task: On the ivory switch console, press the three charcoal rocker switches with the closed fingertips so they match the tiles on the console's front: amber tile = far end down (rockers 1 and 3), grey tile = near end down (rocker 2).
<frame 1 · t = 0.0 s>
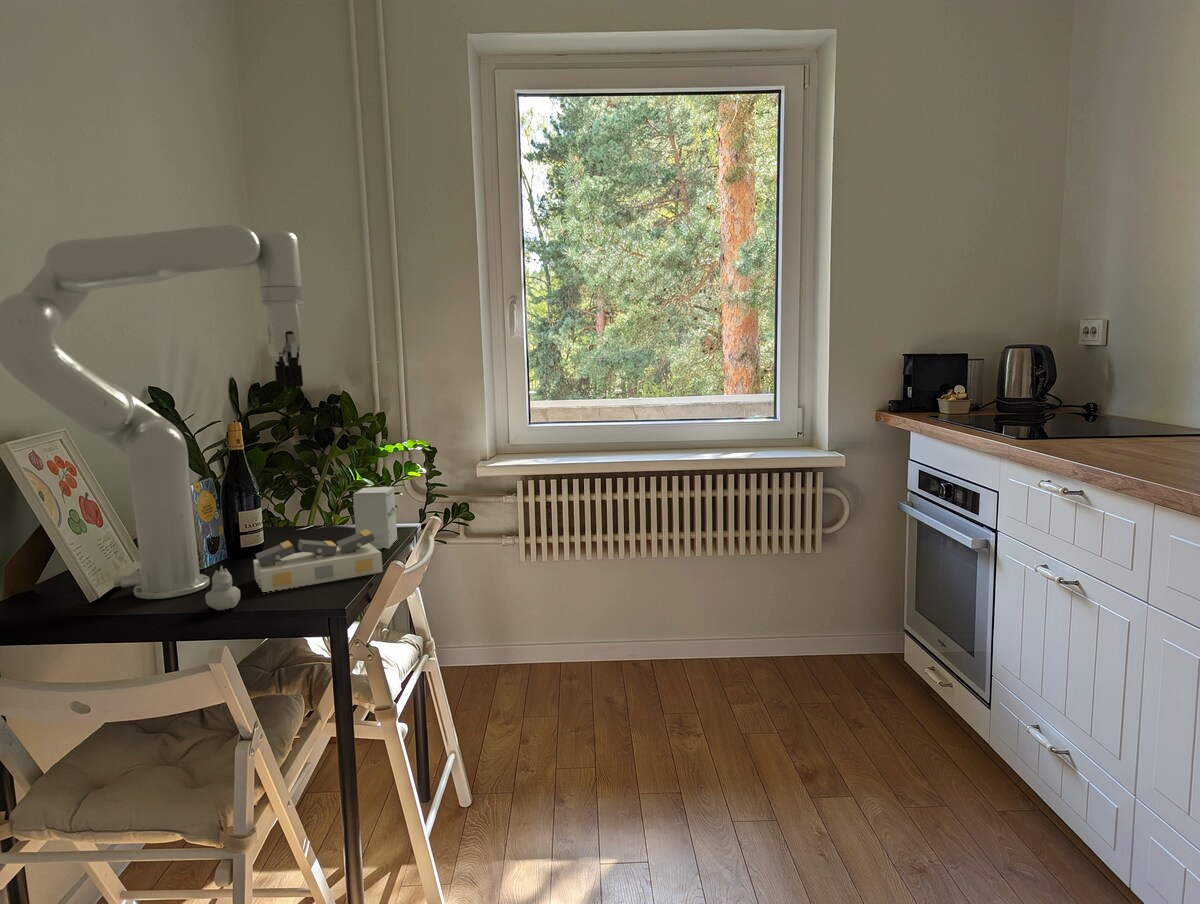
hand: (289, 386, 159), 37 cm above the table, tool pointing down, fingers open, 9 cm apart
rocker 3: (355, 540, 160), point 6 cm above the table, hinge at -14.0°
rocker 1: (275, 553, 153), point 6 cm above the table, hinge at -14.0°
switch console: (319, 576, 157), on the table
rocker 2: (317, 546, 157), point 6 cm above the table, hinge at 14.0°
supplement box: (377, 546, 180), on the table
rubber duck: (224, 609, 140), on the table
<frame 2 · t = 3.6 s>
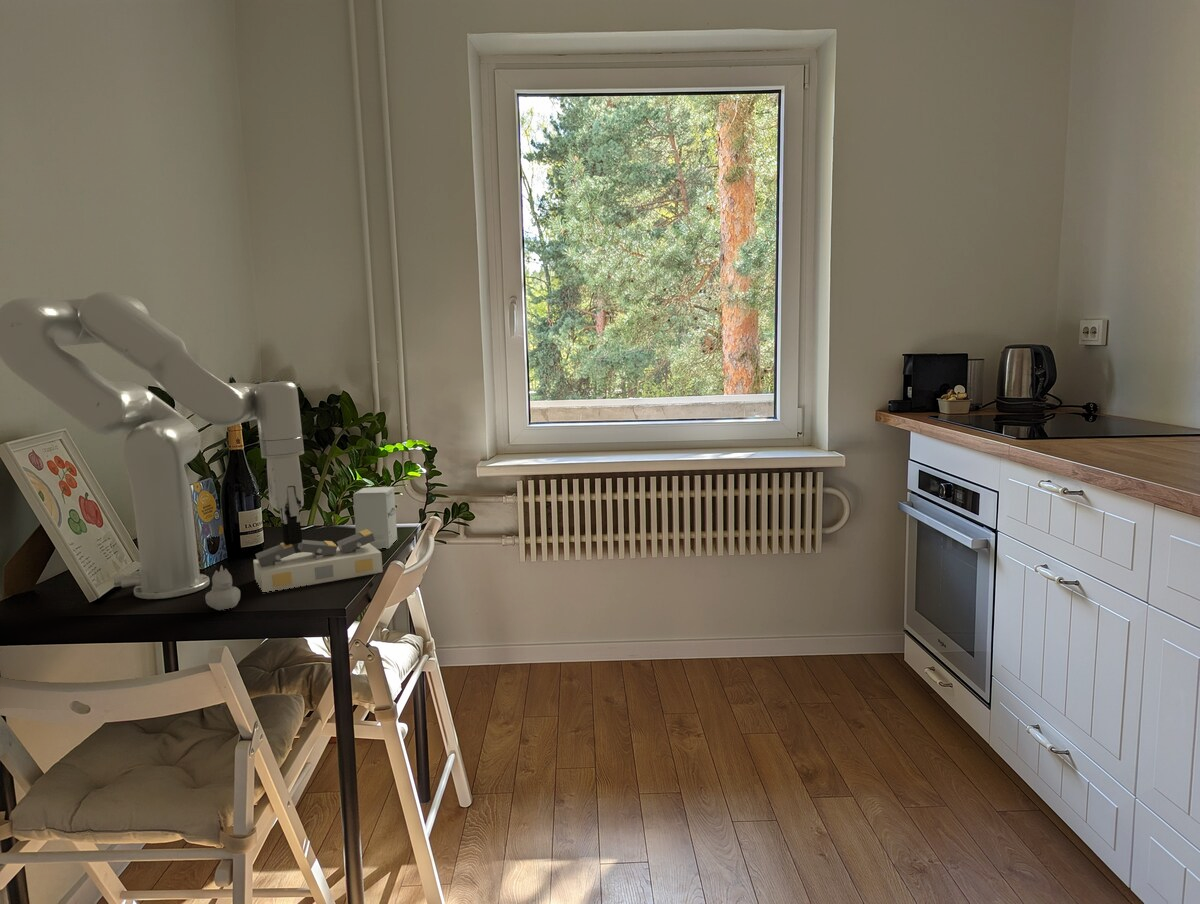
hand: (292, 542, 154), 7 cm above the table, tool pointing down, fingers closed
rocker 1: (275, 553, 153), point 6 cm above the table, hinge at -13.8°, touching gripper
everything else where it was.
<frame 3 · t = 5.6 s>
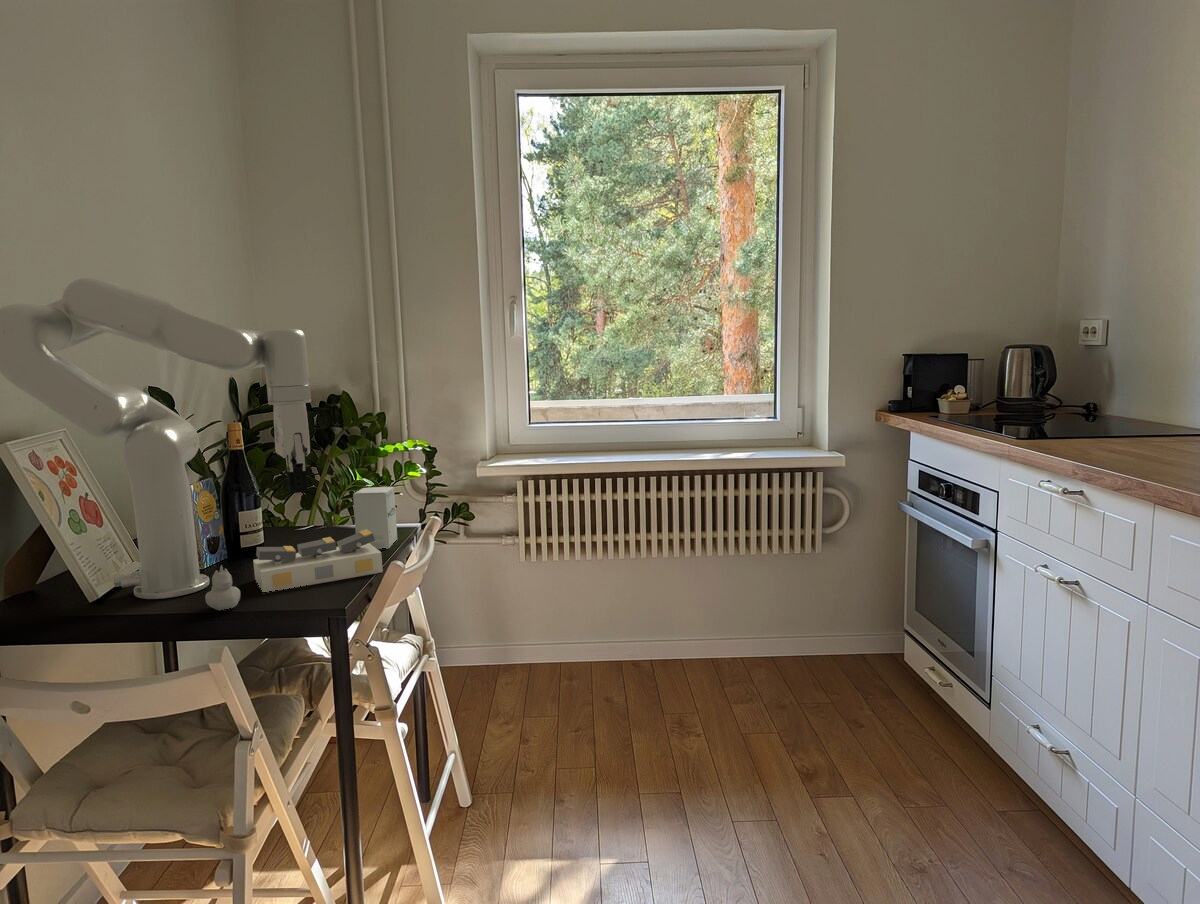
hand: (298, 491, 154), 17 cm above the table, tool pointing down, fingers closed
rocker 1: (276, 552, 153), point 6 cm above the table, hinge at 9.0°
rocker 2: (316, 546, 157), point 6 cm above the table, hinge at -3.4°
everything else where it was.
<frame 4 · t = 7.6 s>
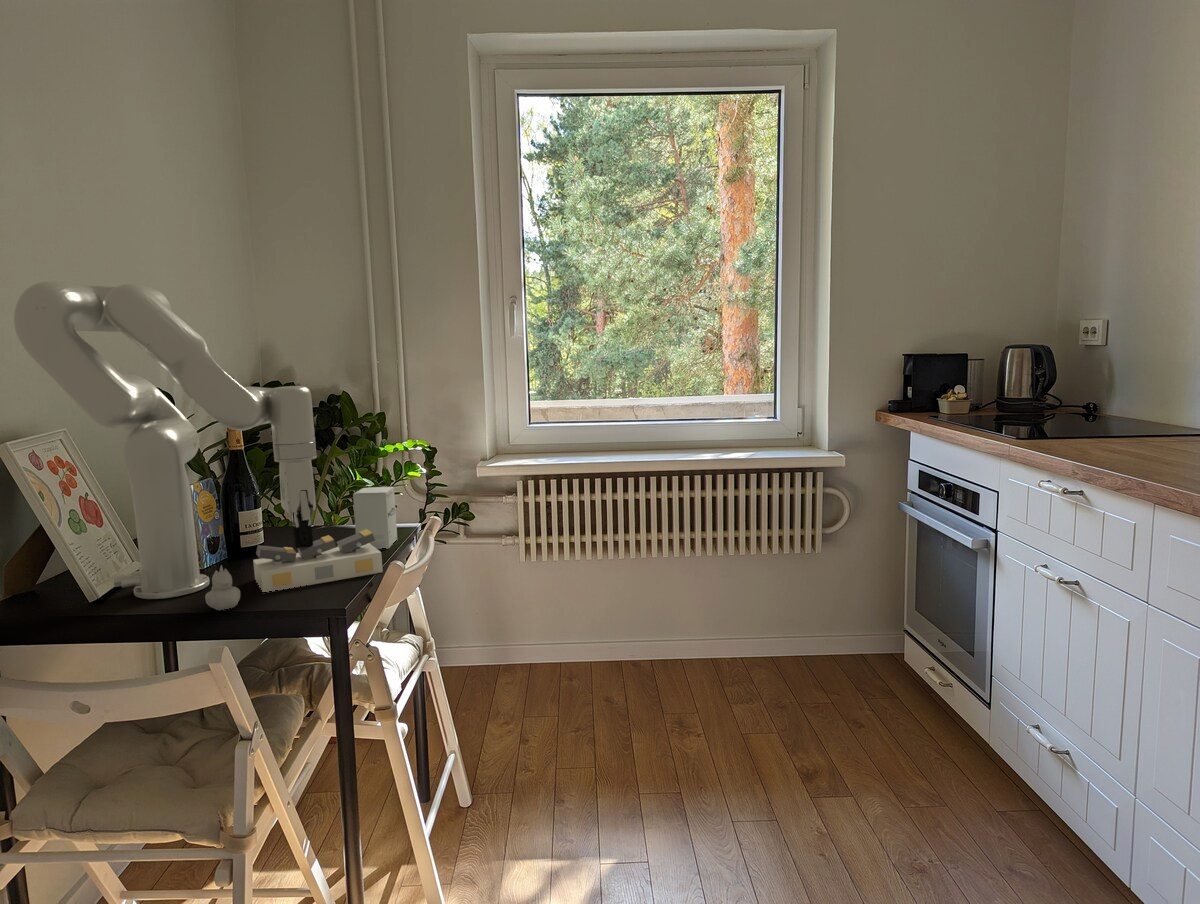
hand: (303, 546, 155), 6 cm above the table, tool pointing down, fingers closed
rocker 1: (276, 552, 153), point 6 cm above the table, hinge at 15.3°
rocker 2: (316, 546, 157), point 6 cm above the table, hinge at -11.2°, touching gripper
everything else where it was.
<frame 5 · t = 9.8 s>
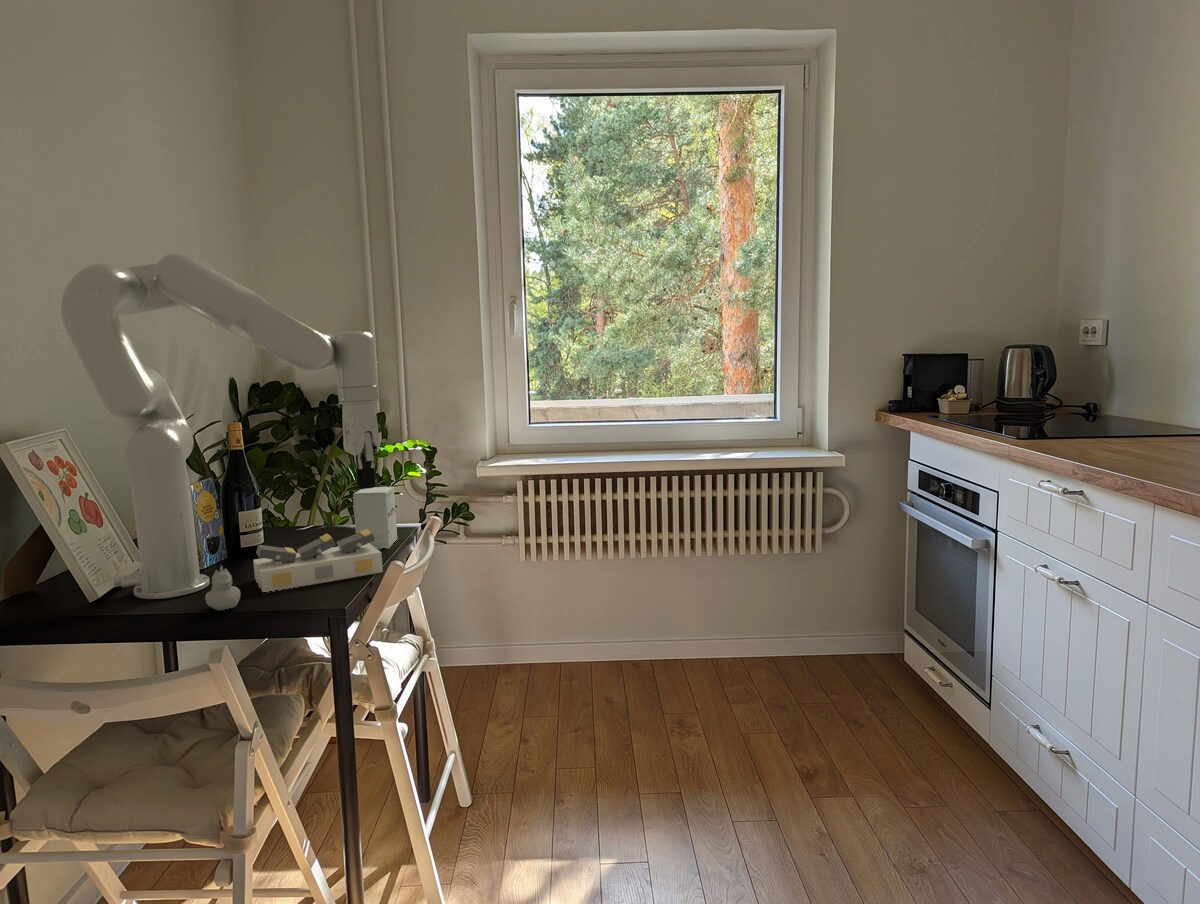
hand: (366, 487, 160), 16 cm above the table, tool pointing down, fingers closed
rocker 1: (276, 552, 153), point 6 cm above the table, hinge at 17.1°
rocker 2: (316, 546, 157), point 6 cm above the table, hinge at -18.9°, touching switch console
everything else where it was.
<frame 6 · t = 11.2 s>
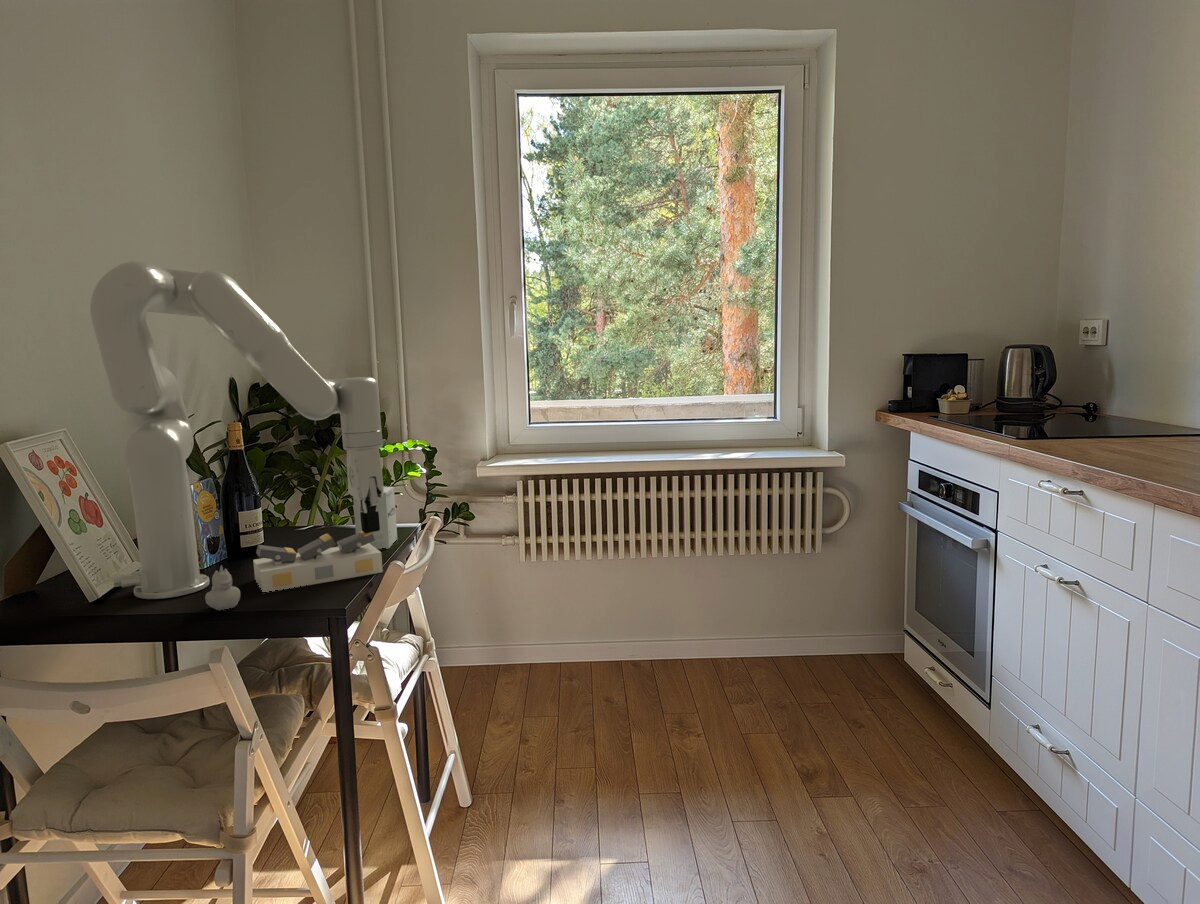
hand: (371, 531, 162), 7 cm above the table, tool pointing down, fingers closed
rocker 3: (355, 540, 160), point 6 cm above the table, hinge at -13.8°, touching gripper
rocker 1: (276, 552, 153), point 6 cm above the table, hinge at 17.5°
rocker 2: (316, 546, 157), point 6 cm above the table, hinge at -20.4°, touching switch console
everything else where it was.
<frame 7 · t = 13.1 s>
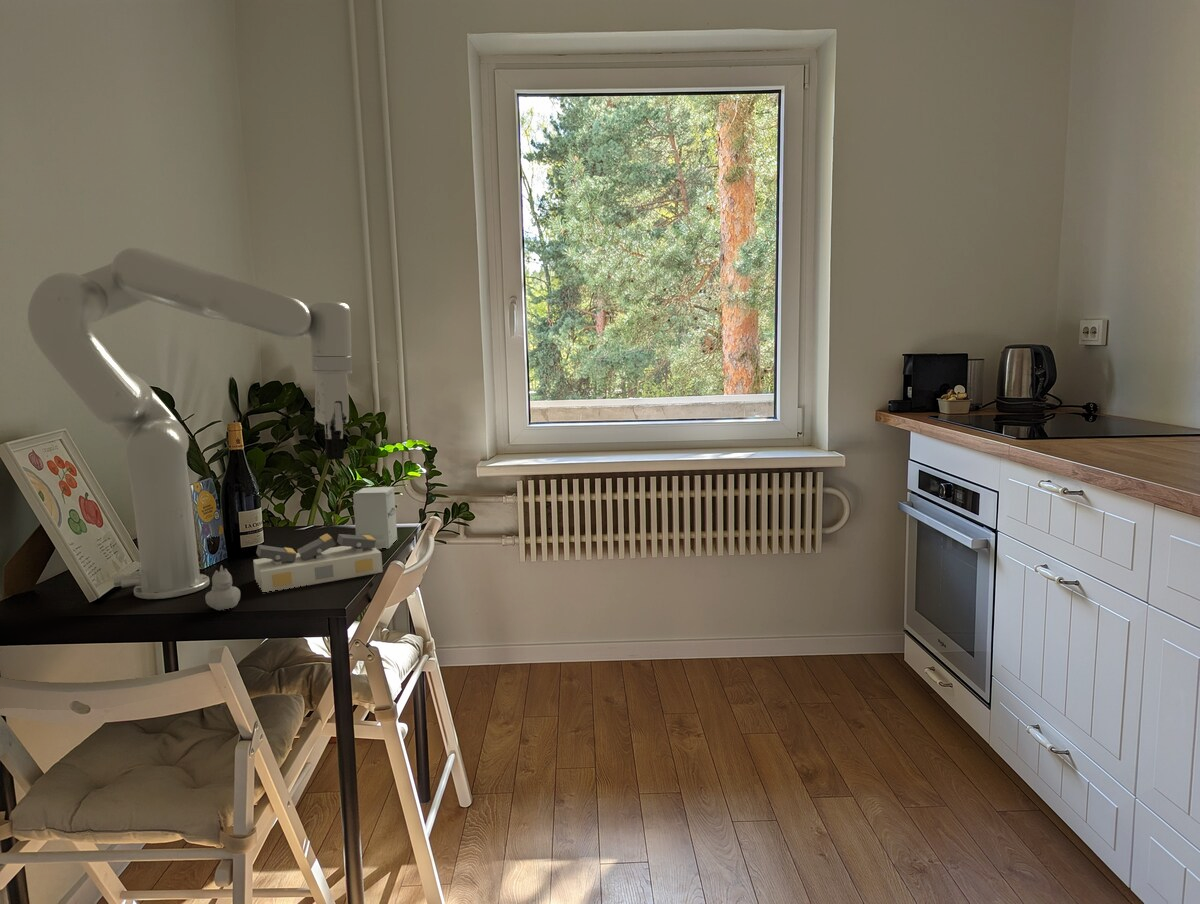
hand: (334, 458, 161), 22 cm above the table, tool pointing down, fingers closed
rocker 3: (356, 540, 160), point 6 cm above the table, hinge at 13.0°
everything else where it was.
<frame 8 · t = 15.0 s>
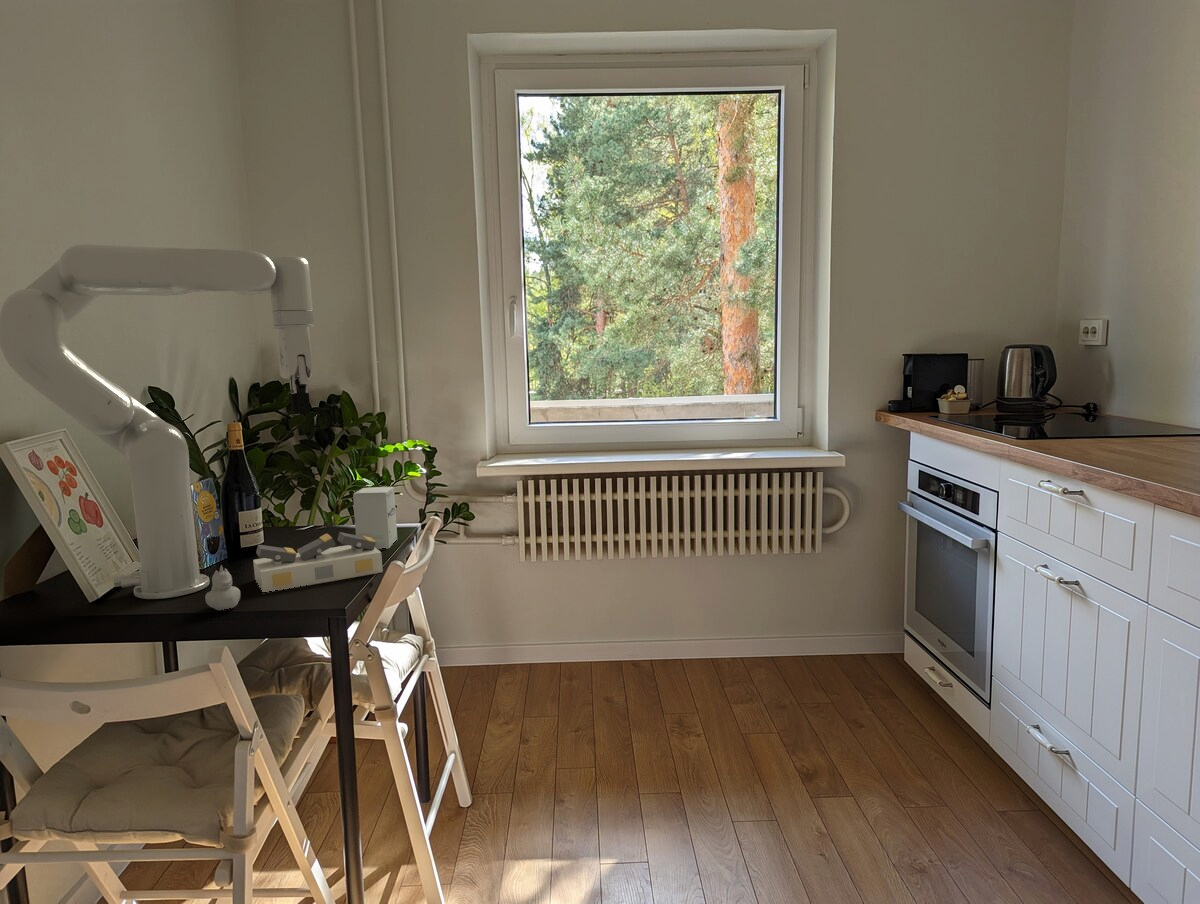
hand: (301, 413, 162), 31 cm above the table, tool pointing down, fingers closed
rocker 3: (356, 540, 160), point 6 cm above the table, hinge at 20.4°, touching switch console
everything else where it was.
at the end: rocker 1 at +18° (first picture: -14°); rocker 2 at -20° (first picture: +14°); rocker 3 at +20° (first picture: -14°) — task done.
